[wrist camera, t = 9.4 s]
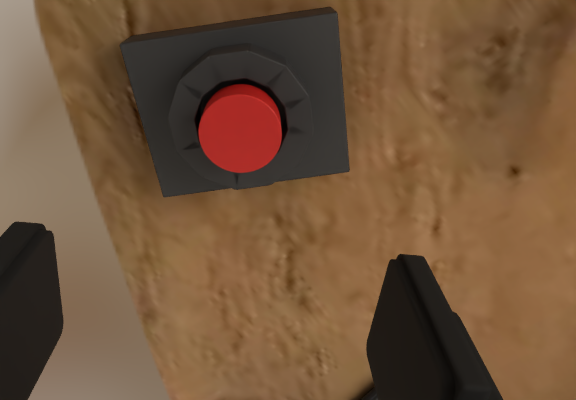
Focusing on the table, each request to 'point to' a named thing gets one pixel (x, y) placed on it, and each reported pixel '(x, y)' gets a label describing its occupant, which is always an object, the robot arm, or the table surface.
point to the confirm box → (241, 70)
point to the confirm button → (240, 128)
